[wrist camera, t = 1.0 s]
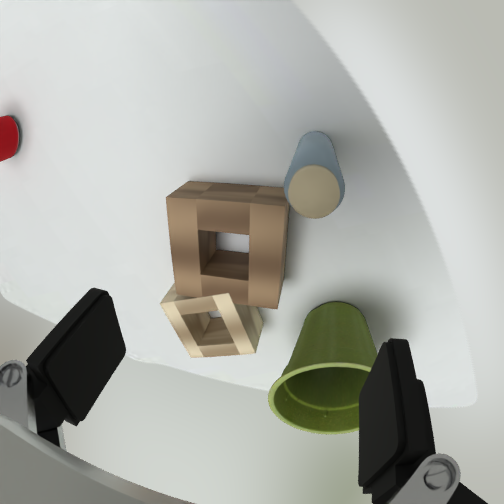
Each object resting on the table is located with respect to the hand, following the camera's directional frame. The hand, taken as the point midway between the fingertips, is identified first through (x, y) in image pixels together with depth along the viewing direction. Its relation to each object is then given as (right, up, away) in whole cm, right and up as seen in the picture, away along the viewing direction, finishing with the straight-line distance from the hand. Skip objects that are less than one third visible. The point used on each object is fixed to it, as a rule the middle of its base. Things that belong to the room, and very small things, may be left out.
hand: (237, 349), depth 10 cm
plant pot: (+10, -5, +25) cm, 27 cm away
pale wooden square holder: (-3, -2, +26) cm, 27 cm away
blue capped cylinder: (+6, +12, +16) cm, 21 cm away
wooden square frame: (-1, +5, +22) cm, 22 cm away
